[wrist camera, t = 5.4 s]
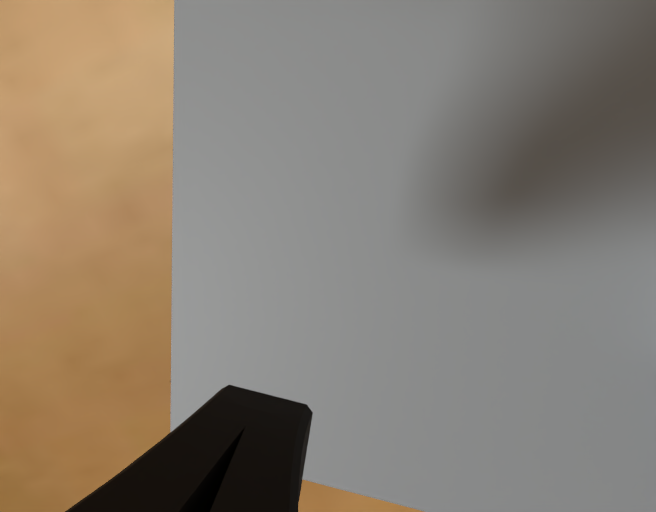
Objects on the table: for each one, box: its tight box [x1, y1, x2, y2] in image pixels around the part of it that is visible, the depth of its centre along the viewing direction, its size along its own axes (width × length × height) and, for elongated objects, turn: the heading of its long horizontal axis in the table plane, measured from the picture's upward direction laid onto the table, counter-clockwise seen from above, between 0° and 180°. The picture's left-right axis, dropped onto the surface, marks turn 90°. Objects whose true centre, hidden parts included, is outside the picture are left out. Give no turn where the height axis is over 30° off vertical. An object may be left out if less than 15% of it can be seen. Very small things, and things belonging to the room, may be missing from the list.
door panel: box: [171, 0, 656, 512], centre depth 12 cm, size 13×14×3 cm
